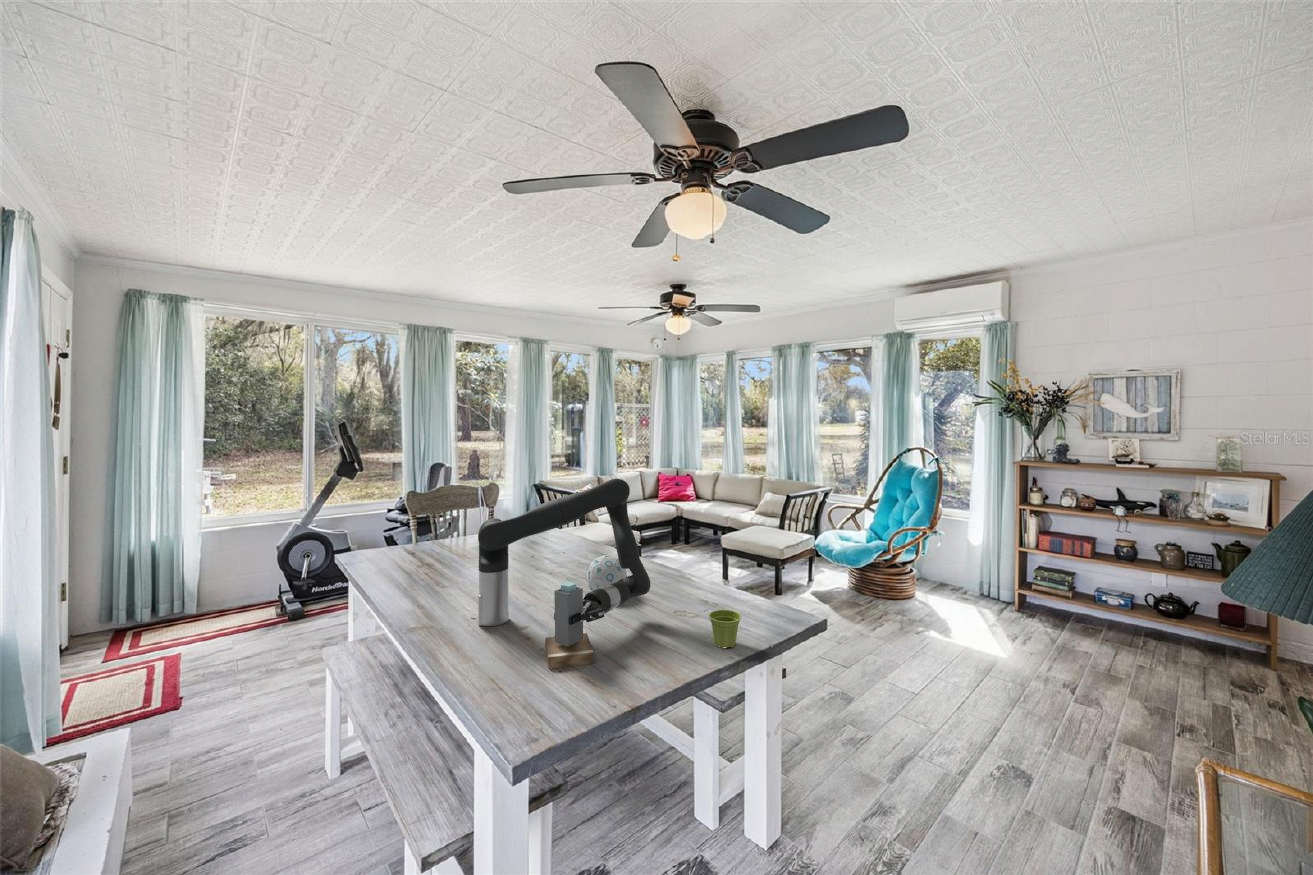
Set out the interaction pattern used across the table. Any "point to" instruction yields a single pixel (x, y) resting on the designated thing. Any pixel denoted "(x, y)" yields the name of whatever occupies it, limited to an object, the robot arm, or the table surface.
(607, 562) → the puzzle ball
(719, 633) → the plant pot
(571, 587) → the block
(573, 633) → the carrier
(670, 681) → the table surface
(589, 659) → the block
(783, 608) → the table surface
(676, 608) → the table surface
